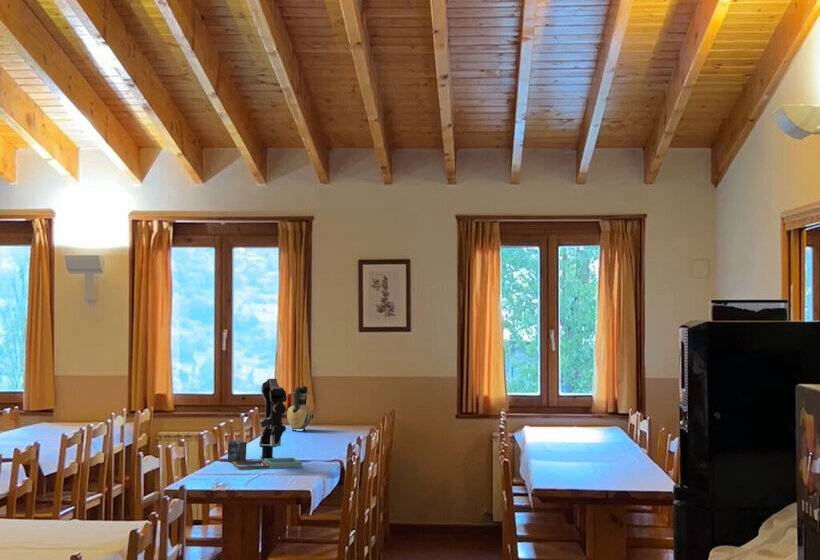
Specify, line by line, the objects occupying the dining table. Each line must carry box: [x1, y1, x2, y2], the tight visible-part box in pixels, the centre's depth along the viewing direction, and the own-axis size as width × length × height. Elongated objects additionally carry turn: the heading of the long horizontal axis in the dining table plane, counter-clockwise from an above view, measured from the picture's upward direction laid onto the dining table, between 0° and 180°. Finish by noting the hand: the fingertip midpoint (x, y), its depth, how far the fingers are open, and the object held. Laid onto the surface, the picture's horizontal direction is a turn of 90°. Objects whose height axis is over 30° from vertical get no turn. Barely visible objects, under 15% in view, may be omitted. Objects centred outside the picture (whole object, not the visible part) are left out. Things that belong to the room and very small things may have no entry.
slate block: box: [270, 435, 282, 447], centre depth 446 cm, size 4×4×5 cm
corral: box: [231, 460, 270, 470], centre depth 441 cm, size 16×16×2 cm
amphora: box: [286, 385, 313, 430], centre depth 590 cm, size 18×17×30 cm
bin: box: [263, 457, 303, 469], centre depth 447 cm, size 16×16×2 cm
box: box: [227, 440, 247, 463], centre depth 454 cm, size 8×6×11 cm
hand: (275, 443), depth 446 cm, fingers closed on slate block, 4 cm apart
